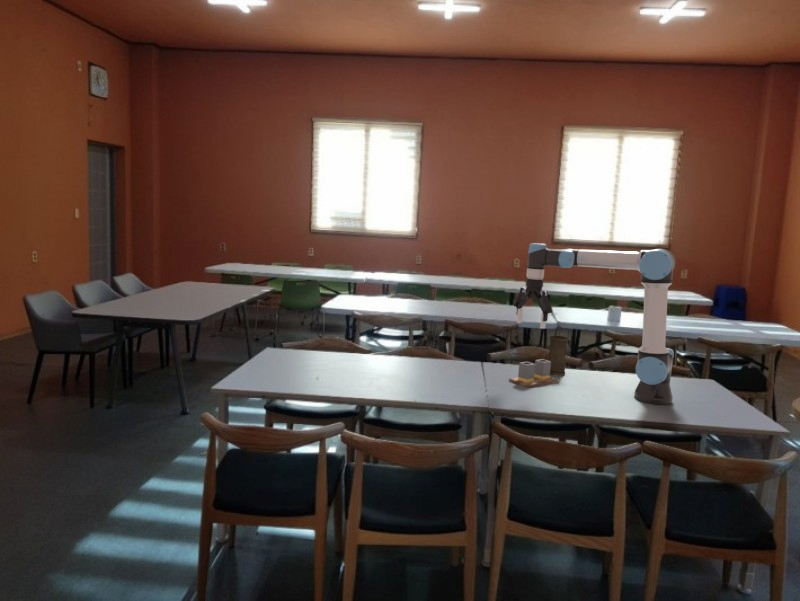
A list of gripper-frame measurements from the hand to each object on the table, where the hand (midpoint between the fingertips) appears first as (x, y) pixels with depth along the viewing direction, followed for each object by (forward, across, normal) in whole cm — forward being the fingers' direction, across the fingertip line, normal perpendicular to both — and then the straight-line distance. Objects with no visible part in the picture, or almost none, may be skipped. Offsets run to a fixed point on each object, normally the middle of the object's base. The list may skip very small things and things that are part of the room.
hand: (530, 325), depth 267 cm
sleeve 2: (+25, 0, -11) cm, 28 cm away
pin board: (+27, 0, -6) cm, 27 cm away
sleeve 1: (+25, 0, 0) cm, 25 cm away
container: (+27, +5, -28) cm, 39 cm away
